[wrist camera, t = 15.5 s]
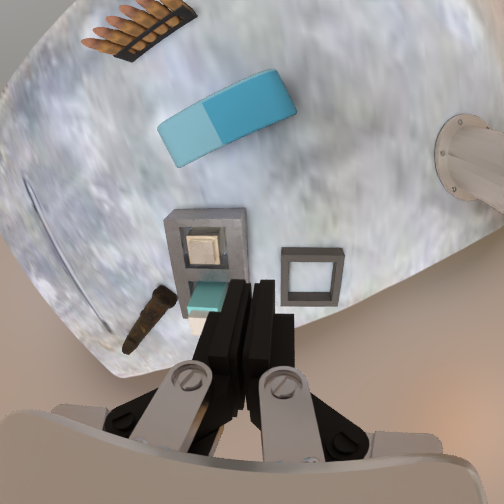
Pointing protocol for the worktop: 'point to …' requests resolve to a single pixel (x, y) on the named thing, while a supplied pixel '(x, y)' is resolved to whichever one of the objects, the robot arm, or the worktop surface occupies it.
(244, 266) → the port
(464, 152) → the robot arm
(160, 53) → the worktop surface
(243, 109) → the data package
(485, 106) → the worktop surface
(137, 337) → the hand tool
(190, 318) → the plug
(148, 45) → the ammunition clip
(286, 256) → the dark square frame
